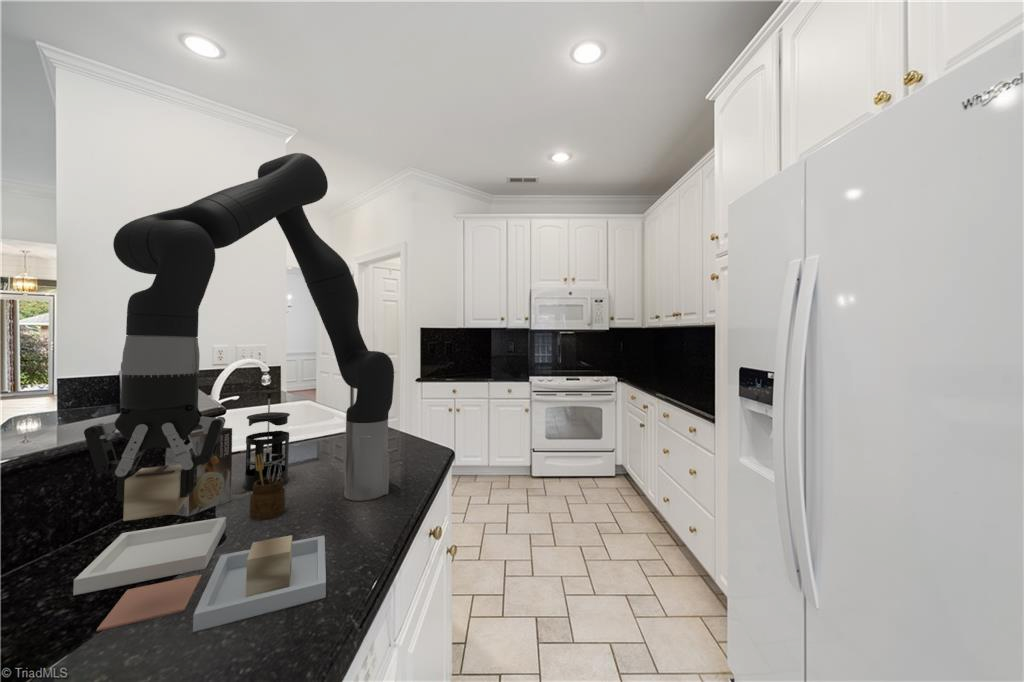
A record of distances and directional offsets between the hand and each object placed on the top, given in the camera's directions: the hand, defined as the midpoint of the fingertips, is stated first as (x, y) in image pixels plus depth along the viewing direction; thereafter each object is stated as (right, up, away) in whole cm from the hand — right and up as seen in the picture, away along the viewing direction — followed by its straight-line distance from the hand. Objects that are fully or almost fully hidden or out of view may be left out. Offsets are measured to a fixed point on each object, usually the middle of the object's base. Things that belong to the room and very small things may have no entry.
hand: (157, 498), depth 50 cm
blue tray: (+12, -14, +4) cm, 19 cm away
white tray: (-9, -14, +10) cm, 19 cm away
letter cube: (0, -1, 0) cm, 1 cm away
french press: (-14, -15, +43) cm, 48 cm away
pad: (0, -14, 0) cm, 14 cm away
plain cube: (+12, -14, +4) cm, 19 cm away
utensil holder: (-2, -14, +26) cm, 30 cm away
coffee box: (-18, -14, +29) cm, 37 cm away
